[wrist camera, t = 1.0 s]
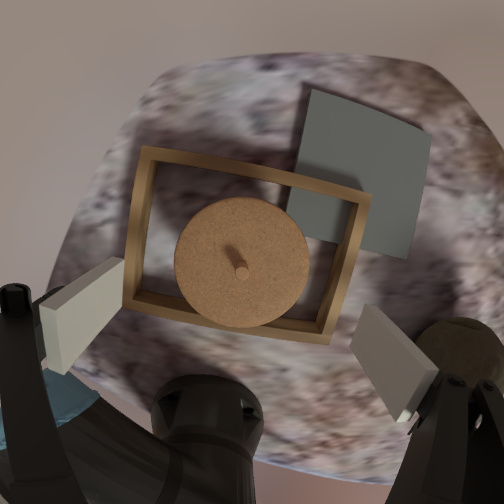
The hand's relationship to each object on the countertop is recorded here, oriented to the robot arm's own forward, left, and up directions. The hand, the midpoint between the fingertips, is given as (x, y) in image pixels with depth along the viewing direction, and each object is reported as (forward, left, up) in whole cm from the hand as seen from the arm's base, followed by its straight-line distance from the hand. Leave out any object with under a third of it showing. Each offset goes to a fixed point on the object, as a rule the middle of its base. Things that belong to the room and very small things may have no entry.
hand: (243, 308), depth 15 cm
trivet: (+10, -11, -16) cm, 22 cm away
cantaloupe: (-9, -29, -16) cm, 34 cm away
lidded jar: (0, 0, -16) cm, 16 cm away
